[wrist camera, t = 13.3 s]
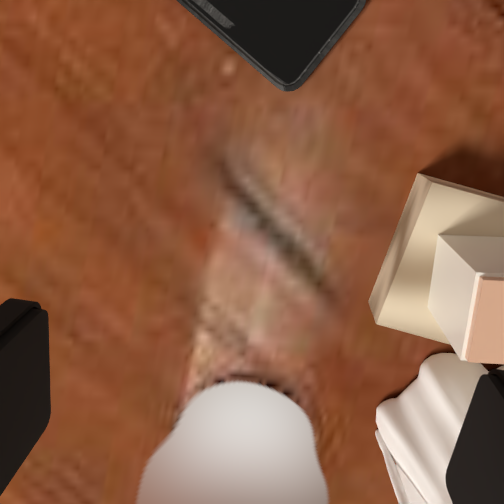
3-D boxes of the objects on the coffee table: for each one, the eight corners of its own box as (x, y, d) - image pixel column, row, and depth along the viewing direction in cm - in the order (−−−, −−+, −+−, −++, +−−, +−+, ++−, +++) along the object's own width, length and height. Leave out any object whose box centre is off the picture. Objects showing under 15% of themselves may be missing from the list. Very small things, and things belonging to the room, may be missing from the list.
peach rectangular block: (437, 234, 30) (479, 276, 23) (520, 237, 30) (587, 280, 23) (427, 307, 31) (463, 365, 25) (505, 310, 31) (563, 371, 24)
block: (416, 171, 33) (432, 182, 29) (556, 211, 33) (590, 226, 29) (367, 299, 36) (376, 323, 32) (494, 334, 36) (518, 363, 32)
